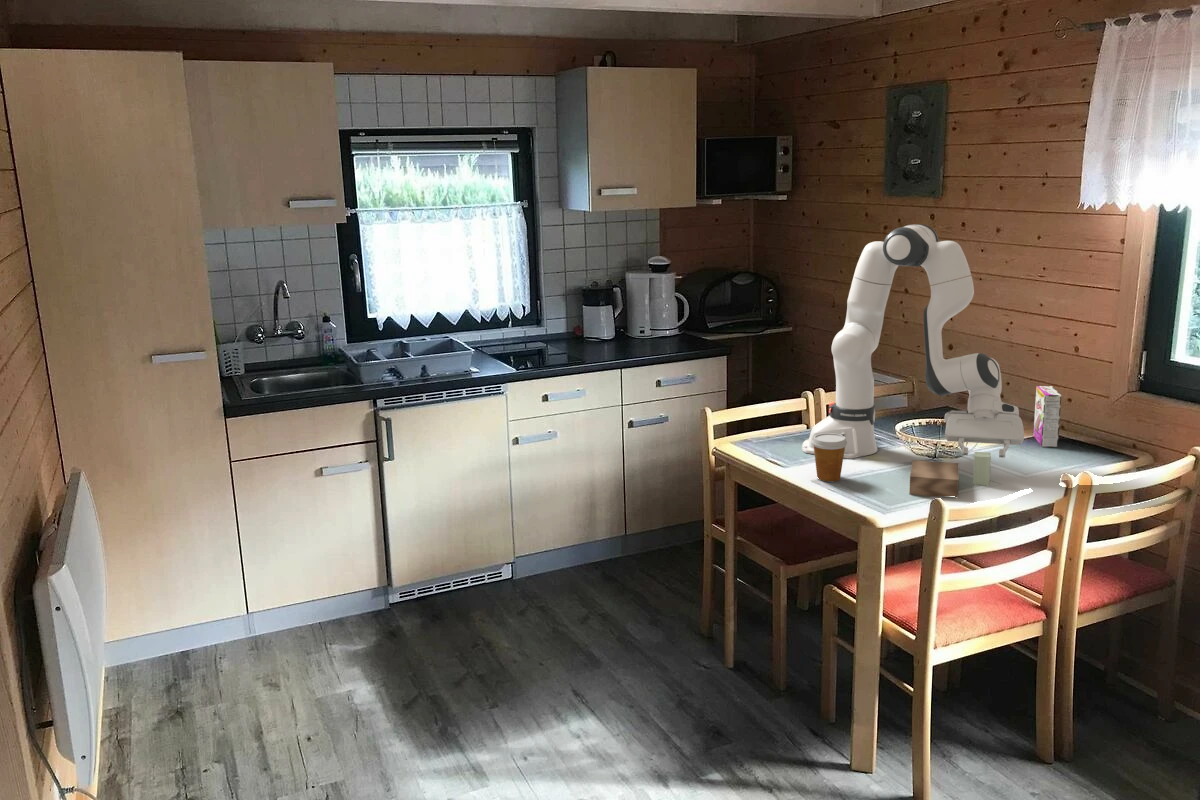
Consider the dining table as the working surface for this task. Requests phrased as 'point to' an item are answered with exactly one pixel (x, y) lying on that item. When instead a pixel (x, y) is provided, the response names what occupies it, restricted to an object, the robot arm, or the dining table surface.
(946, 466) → the walnut plinth
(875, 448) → the robot arm
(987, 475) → the sage block
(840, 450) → the disposable coffee cup
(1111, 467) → the dining table surface
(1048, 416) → the candy bar box
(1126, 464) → the dining table surface
